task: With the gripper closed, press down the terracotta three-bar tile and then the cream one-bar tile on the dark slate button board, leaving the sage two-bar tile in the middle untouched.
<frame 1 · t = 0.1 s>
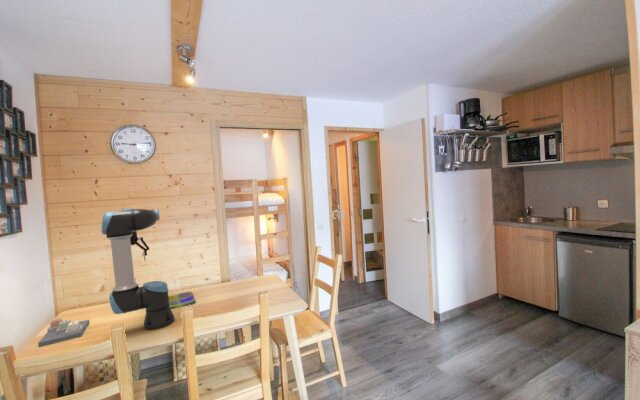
hand: (133, 262, 200), 28 cm above the table, fingers open, 13 cm apart
terracotta tile: (56, 322, 164), point 5 cm above the table, slide at 0.0 cm
button board: (66, 333, 161), on the table
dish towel: (180, 302, 198), on the table
sage tile: (64, 324, 161), point 5 cm above the table, slide at 0.0 cm
cream tile: (73, 325, 158), point 5 cm above the table, slide at 0.0 cm
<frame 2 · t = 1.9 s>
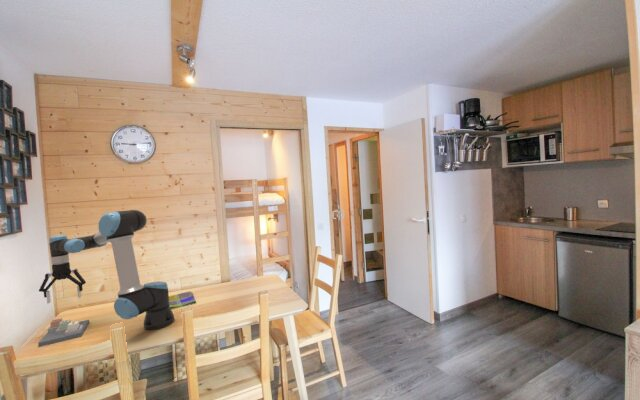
hand: (64, 299, 168), 16 cm above the table, fingers open, 13 cm apart
nothing on the table moved.
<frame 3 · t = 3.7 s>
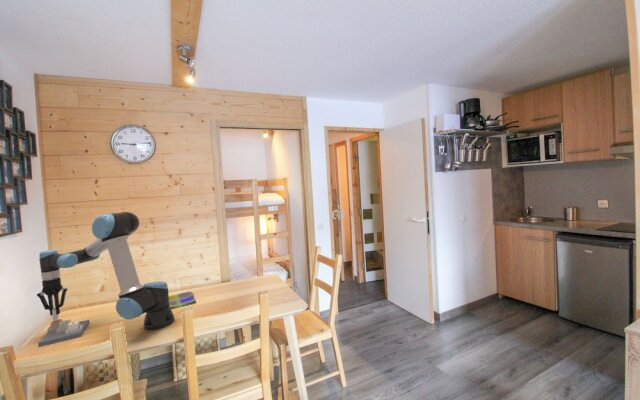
hand: (55, 320, 164), 7 cm above the table, fingers closed
terracotta tile: (56, 323, 164), point 5 cm above the table, slide at 0.4 cm, touching gripper
everything else where it was.
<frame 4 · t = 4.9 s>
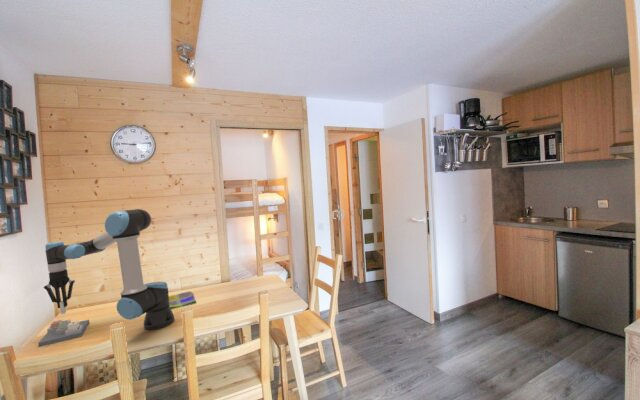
hand: (63, 313, 161), 11 cm above the table, fingers closed
terracotta tile: (56, 324, 164), point 4 cm above the table, slide at 0.9 cm
everything else where it was.
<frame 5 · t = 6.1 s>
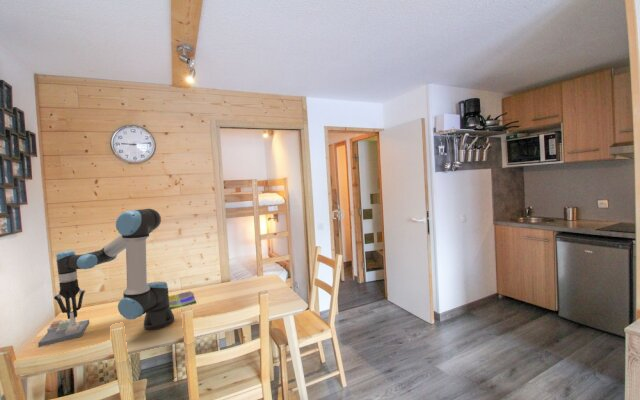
hand: (73, 323, 158), 6 cm above the table, fingers closed
cream tile: (73, 327, 158), point 5 cm above the table, slide at 0.8 cm, touching gripper
everything else where it was.
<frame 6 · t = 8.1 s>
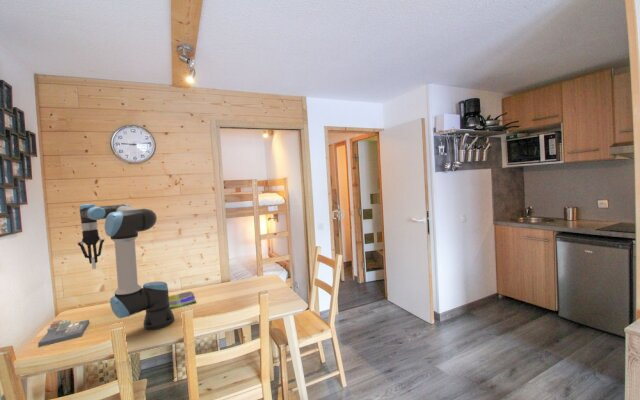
hand: (94, 268, 178), 31 cm above the table, fingers closed
cream tile: (73, 327, 158), point 4 cm above the table, slide at 0.9 cm
everything else where it was.
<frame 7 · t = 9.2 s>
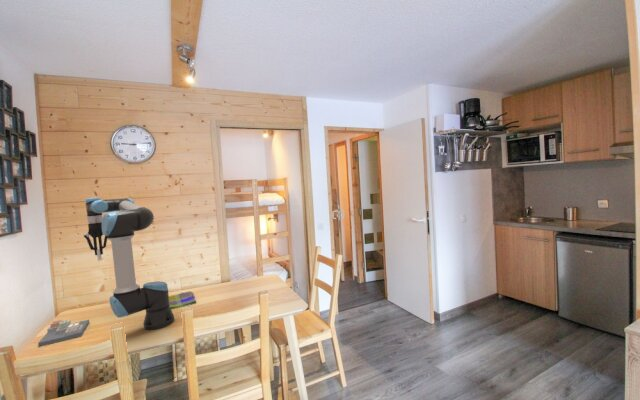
hand: (99, 260, 184), 34 cm above the table, fingers closed
nothing on the table moved.
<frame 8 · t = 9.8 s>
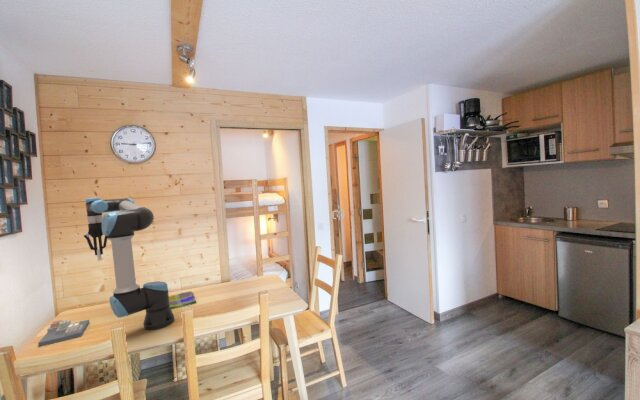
hand: (99, 260, 184), 34 cm above the table, fingers closed
nothing on the table moved.
at the end: terracotta tile slide at 0.9 cm; cream tile slide at 0.9 cm; sage tile slide at 0.0 cm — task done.
